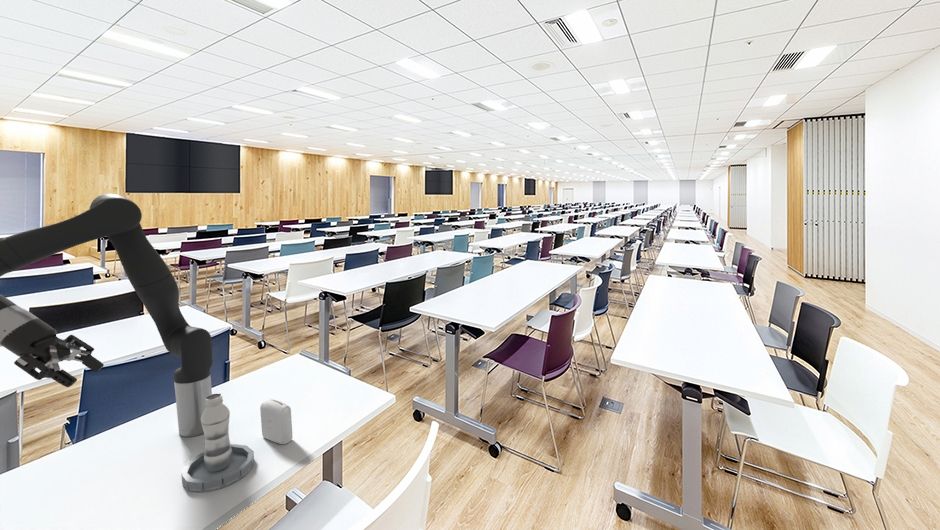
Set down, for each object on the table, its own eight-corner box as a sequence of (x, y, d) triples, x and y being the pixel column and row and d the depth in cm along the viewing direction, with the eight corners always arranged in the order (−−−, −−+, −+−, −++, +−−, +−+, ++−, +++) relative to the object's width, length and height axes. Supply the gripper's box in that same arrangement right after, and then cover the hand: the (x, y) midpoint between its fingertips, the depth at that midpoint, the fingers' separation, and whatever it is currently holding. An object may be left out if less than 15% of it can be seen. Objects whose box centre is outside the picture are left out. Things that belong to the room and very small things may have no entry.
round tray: (215, 450, 112) (214, 442, 112) (266, 455, 111) (266, 447, 110) (166, 488, 97) (165, 479, 96) (224, 495, 95) (224, 486, 94)
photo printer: (259, 437, 119) (257, 399, 117) (272, 430, 123) (270, 393, 121) (282, 447, 114) (280, 407, 113) (294, 439, 118) (293, 401, 117)
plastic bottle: (197, 474, 101) (191, 401, 98) (218, 458, 108) (213, 389, 105) (219, 477, 100) (214, 404, 97) (239, 460, 107) (234, 391, 104)
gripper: (2, 327, 79) (76, 376, 83) (58, 310, 93) (119, 353, 97) (-27, 354, 78) (49, 402, 82) (33, 333, 92) (96, 375, 96)
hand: (87, 375), depth 90 cm, fingers open, 8 cm apart
